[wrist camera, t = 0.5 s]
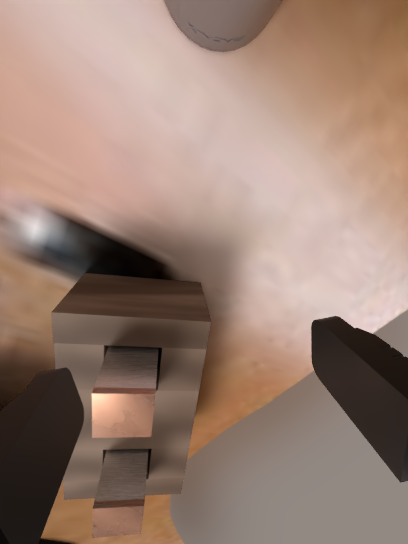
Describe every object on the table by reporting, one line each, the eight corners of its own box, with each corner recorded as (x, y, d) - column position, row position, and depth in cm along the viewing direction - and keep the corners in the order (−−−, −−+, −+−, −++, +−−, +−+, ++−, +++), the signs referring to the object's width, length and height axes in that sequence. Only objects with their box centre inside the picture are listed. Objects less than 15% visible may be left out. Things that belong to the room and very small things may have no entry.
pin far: (111, 427, 27) (92, 508, 20) (150, 427, 27) (143, 505, 21) (110, 453, 28) (93, 537, 22) (147, 452, 29) (141, 533, 22)
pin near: (114, 330, 23) (91, 393, 16) (159, 332, 23) (155, 394, 17) (113, 366, 24) (92, 437, 18) (156, 367, 25) (151, 437, 18)
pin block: (85, 272, 26) (51, 312, 19) (200, 282, 28) (211, 321, 21) (87, 427, 34) (64, 499, 26) (178, 426, 36) (180, 493, 28)
